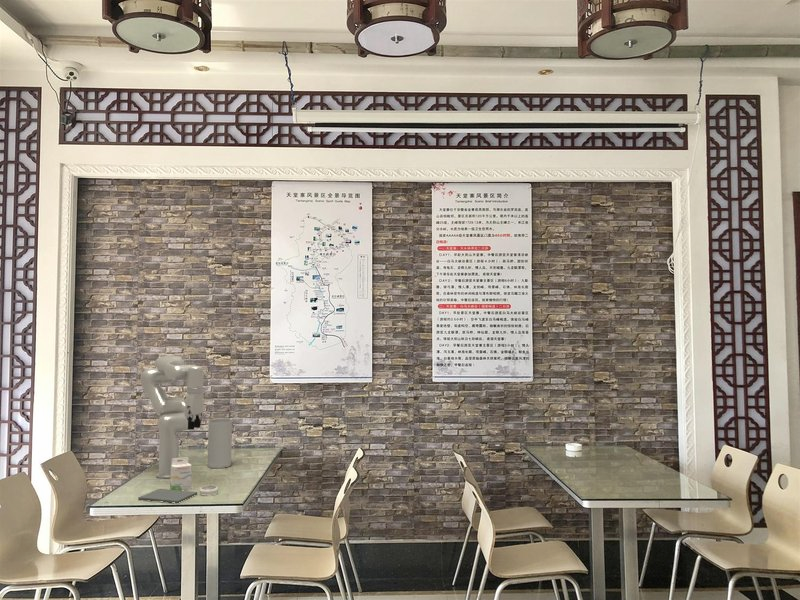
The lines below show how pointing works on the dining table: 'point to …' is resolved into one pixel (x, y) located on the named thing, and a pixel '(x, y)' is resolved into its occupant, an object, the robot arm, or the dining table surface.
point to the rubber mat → (167, 495)
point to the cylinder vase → (219, 443)
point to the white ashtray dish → (208, 490)
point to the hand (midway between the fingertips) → (194, 428)
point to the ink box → (180, 474)
